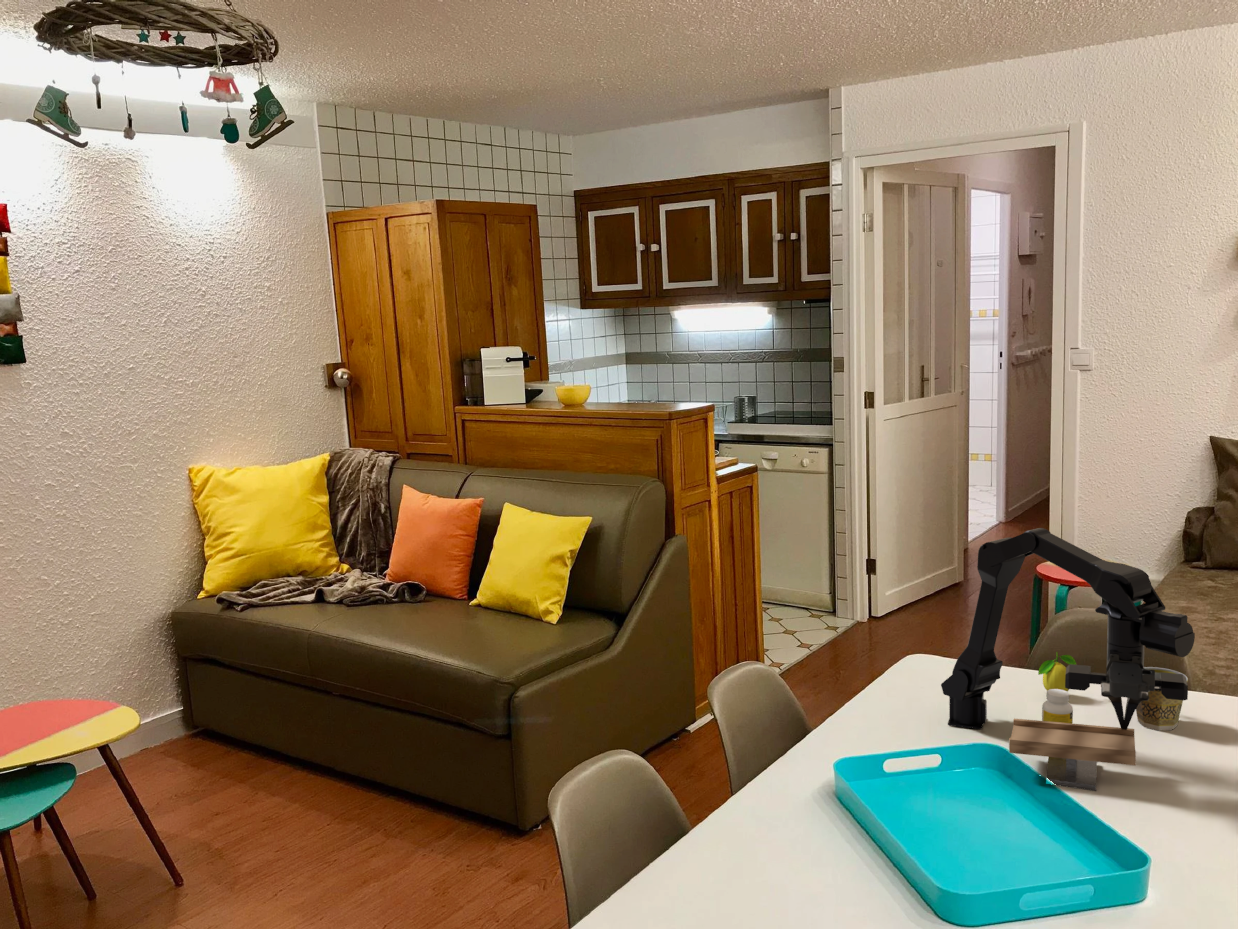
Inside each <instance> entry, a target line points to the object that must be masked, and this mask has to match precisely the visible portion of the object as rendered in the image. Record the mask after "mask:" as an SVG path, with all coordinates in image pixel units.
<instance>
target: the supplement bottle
mask: <svg viewBox="0 0 1238 929" xmlns="http://www.w3.org/2000/svg"><path fill="white" fill-rule="evenodd" d="M1045 697H1046V700H1045V701H1043V703H1042V705H1041V721H1049V722H1061V723H1072V724H1074V722H1073V717H1074V712H1073V711H1074V710H1073V705H1072V704H1071V703H1070V693H1069V691H1068V692H1067V691H1065V690H1061V689H1050V690H1048V691H1047V690H1046V696H1045Z"/></svg>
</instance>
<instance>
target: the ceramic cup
mask: <svg viewBox="0 0 1238 929" xmlns="http://www.w3.org/2000/svg"><path fill="white" fill-rule="evenodd" d="M1144 669H1148V670H1155V678H1158V679H1160V672H1163V673H1174V674H1183V675H1184V676H1185V678H1186V680H1187V684H1188V682H1189V678H1188V677H1187V675H1186V674H1184V673H1182V672H1179V671H1177V670H1174V669H1169V668H1164V667H1157V666H1155V667H1153V666H1147V667H1146V666H1144ZM1148 693H1149V700H1148V701H1141V702H1140V703H1139V705H1138V706H1137V708H1136V709H1135V712H1136V718H1137V722H1138V723H1139V724H1140V725H1141V726H1143V727H1144V728H1145V727H1147V728H1146V729H1149V728H1150V729H1149V730H1153V729H1154V730H1153V731H1158V730H1159V732H1161V731H1160V730H1170V731H1173V730H1174V729H1175V728H1176V727H1177V726H1178V723H1179V721H1180V720H1179V719H1180V715H1181V710H1182V707H1183V704H1184V703H1183V701H1184V700H1174V699H1166V698H1165V697H1164V696H1163V695H1162V694H1161V690H1154V691H1149V692H1148ZM1172 729H1173V730H1172Z"/></svg>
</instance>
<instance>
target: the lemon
mask: <svg viewBox="0 0 1238 929" xmlns="http://www.w3.org/2000/svg"><path fill="white" fill-rule="evenodd" d="M1055 654H1056V658H1055V659H1048V660H1045V661H1043V663H1042V664H1041V665H1040V666H1039V668H1038V671H1037V672H1038V673H1037V674H1038V675H1042V684H1043V687H1044V689H1045V690H1046V692H1047V691H1048V690H1050V689H1061V690H1065V691H1067V692H1068V693H1069V691H1070V689H1067V688H1065V674H1066V667H1067V666H1065V665H1064V664H1062V663H1061V662H1059V661H1058V660H1059V658H1060V659H1061V660H1062V661H1063V662H1064V663H1066V664H1067V665H1069V664H1074V665H1077V662H1076V660H1075V658H1074V657H1073V656H1072V655H1071V654H1064V655H1063V654H1062V655H1058V651H1056V653H1055Z"/></svg>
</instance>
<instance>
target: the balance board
mask: <svg viewBox="0 0 1238 929" xmlns="http://www.w3.org/2000/svg"><path fill="white" fill-rule="evenodd" d="M1012 721H1013V722H1012V723H1013V725H1012V731H1011V735H1010V737H1009V738H1008V739H1009V740H1008V748H1009V750H1008V751H1009V754H1017V755H1019V754H1020V755H1027V756H1037V757H1046V758H1048V757H1056V758H1066V759H1076V760H1086V761H1096V762H1097V763H1107V764H1117V765H1126V766H1134V767H1135V766H1136V764H1137V762H1136V760H1137V759H1136V757H1137V756H1136V740H1135V739H1136V738H1135V737H1136V736H1135V728H1129V727H1128V728H1127V730H1122V729H1121V727H1116V726H1104V725H1096V724H1095V725H1094V724H1083V723H1081V724H1080V723H1061V722H1049V721H1042V720H1037V719H1024V718H1015V717H1014V718H1013V720H1012Z"/></svg>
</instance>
